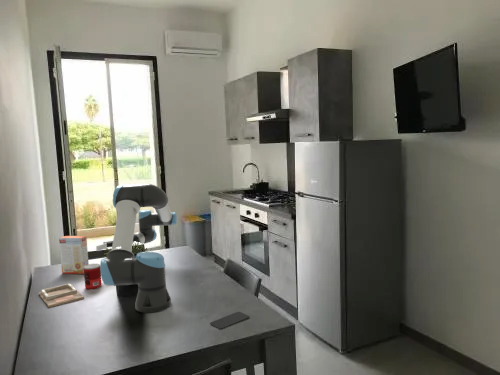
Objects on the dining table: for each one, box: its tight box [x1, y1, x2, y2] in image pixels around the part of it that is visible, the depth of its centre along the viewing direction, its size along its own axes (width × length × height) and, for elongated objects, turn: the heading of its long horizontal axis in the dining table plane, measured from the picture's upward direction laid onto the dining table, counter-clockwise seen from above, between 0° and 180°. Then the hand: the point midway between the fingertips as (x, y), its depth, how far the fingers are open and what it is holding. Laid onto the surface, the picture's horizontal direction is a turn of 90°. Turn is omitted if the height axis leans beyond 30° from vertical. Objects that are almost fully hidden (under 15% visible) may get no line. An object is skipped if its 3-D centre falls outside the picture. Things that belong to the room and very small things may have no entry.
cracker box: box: [58, 235, 89, 275], centre depth 225 cm, size 14×6×21 cm, turn 77°
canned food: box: [83, 263, 102, 290], centre depth 200 cm, size 8×8×11 cm
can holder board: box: [38, 283, 85, 309], centre depth 188 cm, size 22×15×2 cm
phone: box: [209, 311, 250, 330], centre depth 155 cm, size 7×1×15 cm
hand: (106, 249), depth 208 cm, fingers open, 13 cm apart
